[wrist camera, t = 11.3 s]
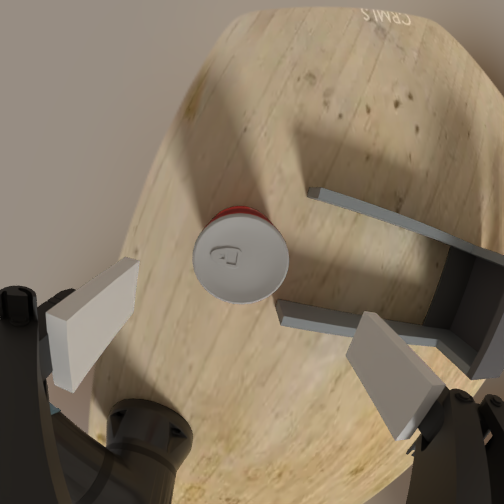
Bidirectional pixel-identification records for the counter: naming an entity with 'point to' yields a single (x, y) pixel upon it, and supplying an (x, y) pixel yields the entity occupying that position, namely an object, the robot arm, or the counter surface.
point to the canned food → (240, 256)
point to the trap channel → (442, 306)
